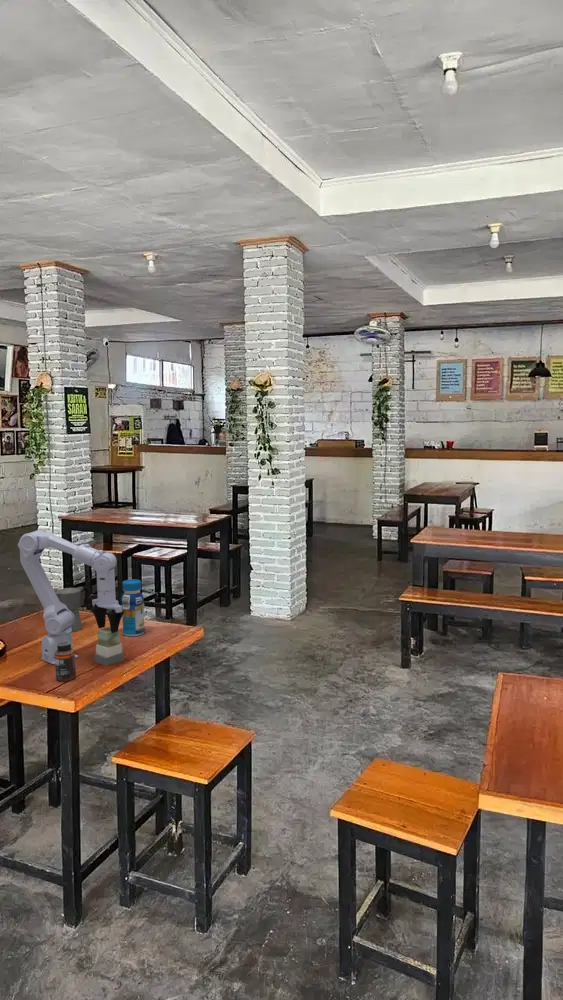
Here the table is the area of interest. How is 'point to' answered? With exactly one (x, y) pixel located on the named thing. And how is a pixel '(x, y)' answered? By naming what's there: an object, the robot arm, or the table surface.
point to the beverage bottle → (132, 608)
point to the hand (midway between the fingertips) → (108, 629)
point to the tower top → (108, 650)
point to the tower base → (109, 659)
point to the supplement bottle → (65, 662)
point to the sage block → (108, 637)
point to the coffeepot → (73, 602)
